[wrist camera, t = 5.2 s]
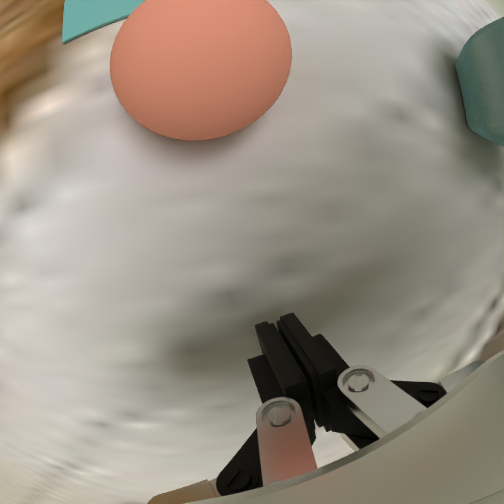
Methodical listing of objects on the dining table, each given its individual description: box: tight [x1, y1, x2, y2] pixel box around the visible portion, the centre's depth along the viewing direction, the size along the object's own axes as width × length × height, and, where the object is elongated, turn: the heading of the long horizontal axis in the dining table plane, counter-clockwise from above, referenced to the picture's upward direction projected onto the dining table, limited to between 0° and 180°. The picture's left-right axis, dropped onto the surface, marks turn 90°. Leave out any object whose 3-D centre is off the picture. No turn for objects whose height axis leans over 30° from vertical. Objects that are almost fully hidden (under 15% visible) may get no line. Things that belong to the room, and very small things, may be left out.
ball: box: [110, 0, 292, 140], centre depth 7 cm, size 6×6×6 cm
